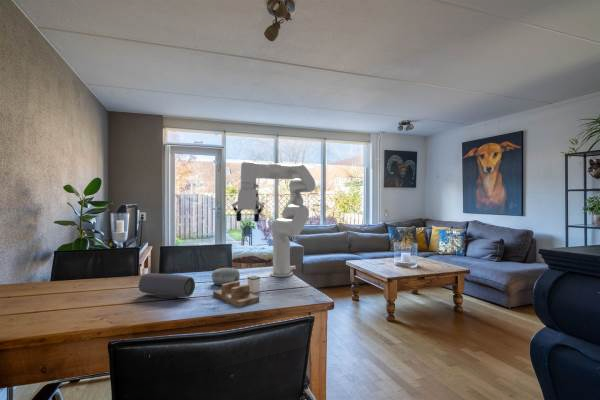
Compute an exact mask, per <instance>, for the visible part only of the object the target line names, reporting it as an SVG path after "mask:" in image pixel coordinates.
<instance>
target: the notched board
mask: <svg viewBox="0 0 600 400" xmlns="http://www.w3.org/2000/svg"><path fill="white" fill-rule="evenodd" d="M212 295H213V297H215V298H218V299H220V300H222V301H224V302H226V303H229V304H231V305H233V306H236V307H238V308H242V307H245V306H247V305H251V304H255V303H259V302H260V296H259V295H256V294H254V293H251V292H250V285H248V283H246V284H241V282H240V280H239V281H234V282H230V283H225V284H222V285H221V289H218V290H213V292H212Z"/></svg>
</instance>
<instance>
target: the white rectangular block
mask: <svg viewBox="0 0 600 400" xmlns="http://www.w3.org/2000/svg"><path fill="white" fill-rule="evenodd" d="M247 284H248V285H250V293H251V294H255V293H258V292H261V277H260V276H257V275H251V276H247Z"/></svg>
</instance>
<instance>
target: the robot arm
mask: <svg viewBox="0 0 600 400" xmlns="http://www.w3.org/2000/svg"><path fill="white" fill-rule="evenodd" d="M240 166H241V167H240V189H239V191H238V195H237V200H236V202H234V203H232V204H231V206H232V209H233V211H234V213H235V214H236V215H235V216H236V217H235V219H236V222H241V221H242V211H243V210H247V211H248V210H249V211H253V212H254V214H253V215H254V218H253V221H254V223H258V222H259V220H260V214H261V213H262V211H263V209H264V208H265V204H263V203H262V202H260V197H259V192H258V191H259V190H258V189H257V188H259V184H257V179H267V180H290V181H289V185H288V186H289V187H288V188H289V192H290V198H289V200H288V202H287V203H286V205H285V206H284V208H283V210H282V212H281V217H282V218H275V219H274V220H273V221H272V223H271V234H272V241H273V242H272V246H273V247H272V262H273V263H272V266H273V267H272V271H270V273H269V274H270V276H272V277H277V278H286V277H291V276H293V271H292V270H295V269H297V266H296V265H291V242H290V238H289V237H292V238H293V237H298V236H299V235H300V234H301V232H302V231H303V229H304V227H305V225H306V223H307V222H308V220H309V215H310V211H309V209H308V207H307V206H306V205H304V199H303V196H302V194H301V193H313V191H315V190H316V186H317V185H316V181H315V179H314V177H313V176H312V174H311V172H310V171H309V170H308V167H306V166H305V165H304V164H303V163H297V164H294V163H293V164H290V163H289V164H286V163H268V164H267V163H264V162H259V163H258V162H253V161H243V162H241V164H240Z"/></svg>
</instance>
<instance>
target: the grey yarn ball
mask: <svg viewBox="0 0 600 400" xmlns="http://www.w3.org/2000/svg"><path fill="white" fill-rule="evenodd" d="M211 279H212V280H211V281H212V283H213V284H214V285H216V286H222V284H225V283H230V282H234V281H239V282H240V272H239V269H237V268H235V267H219V268H216V269H215V270H213V271H212V273H211Z"/></svg>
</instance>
